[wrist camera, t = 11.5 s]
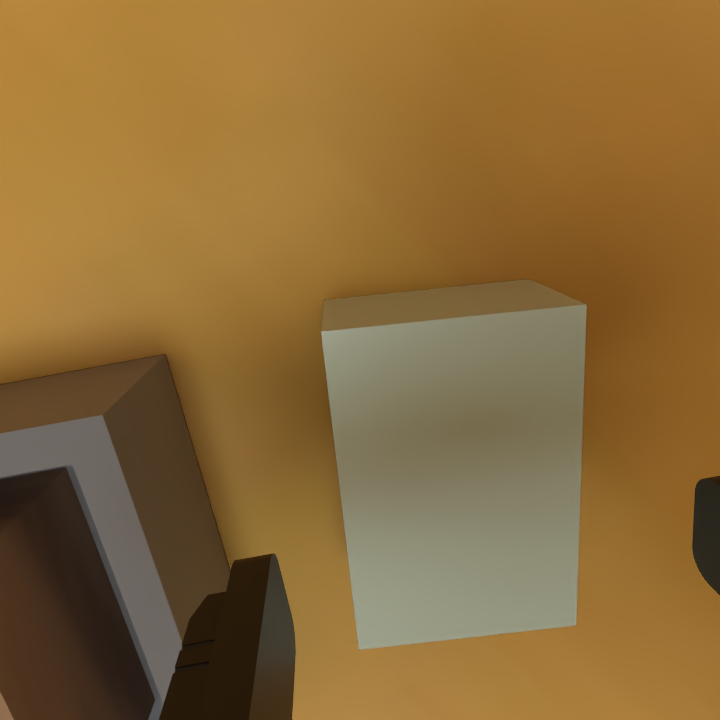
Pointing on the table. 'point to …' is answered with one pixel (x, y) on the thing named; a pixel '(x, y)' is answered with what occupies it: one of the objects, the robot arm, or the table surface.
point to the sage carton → (458, 457)
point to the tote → (126, 492)
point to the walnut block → (60, 612)
